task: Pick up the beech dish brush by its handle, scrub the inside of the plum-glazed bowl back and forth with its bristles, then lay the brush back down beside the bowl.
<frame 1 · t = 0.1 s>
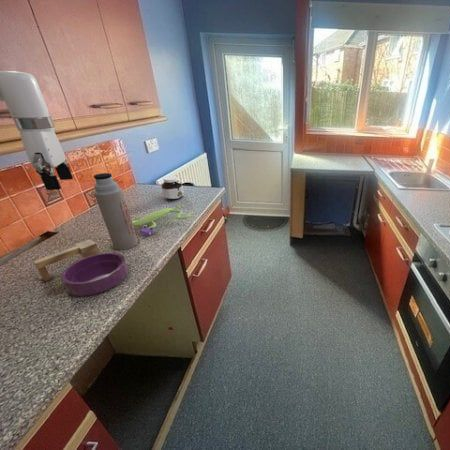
hand: (60, 184, 76), 28 cm above the countertop, tool pointing down, fingers open, 9 cm apart
thermos bottle: (126, 244, 98), on the countertop
spread jar: (174, 197, 142), on the countertop
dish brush: (92, 260, 88), on the countertop
bowl: (100, 279, 79), on the countertop
figurine: (163, 223, 114), on the countertop
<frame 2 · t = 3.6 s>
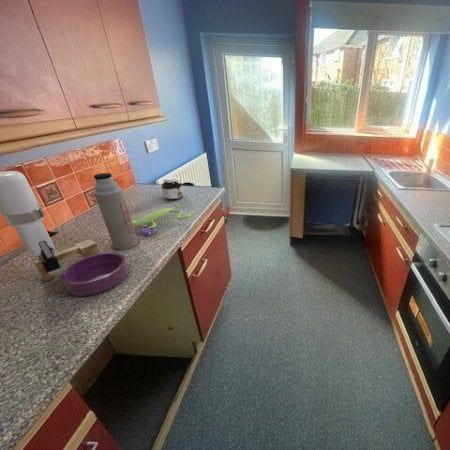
hand: (52, 267, 79), 3 cm above the countertop, tool pointing down, fingers closed on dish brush
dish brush: (92, 260, 88), on the countertop, touching gripper
everything else where it was.
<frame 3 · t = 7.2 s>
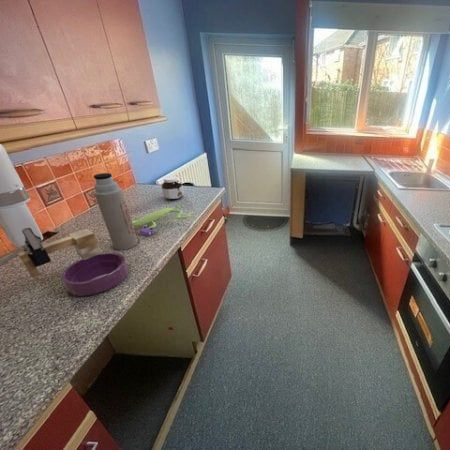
hand: (41, 261, 66), 13 cm above the countertop, tool pointing down, fingers closed on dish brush
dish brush: (89, 253, 75), point 10 cm above the countertop, touching gripper
everything else where it was.
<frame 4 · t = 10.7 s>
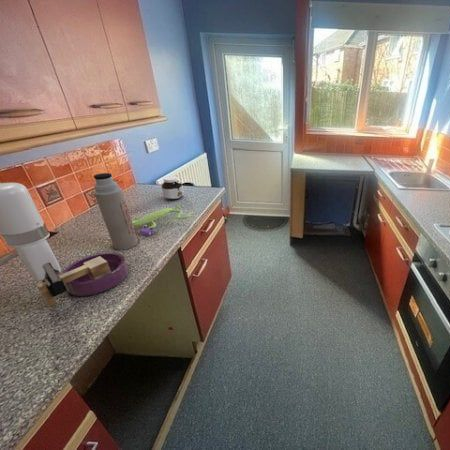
hand: (57, 291, 69), 4 cm above the countertop, tool pointing down, fingers closed on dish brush
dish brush: (102, 280, 78), point 1 cm above the countertop, touching gripper
everything else where it was.
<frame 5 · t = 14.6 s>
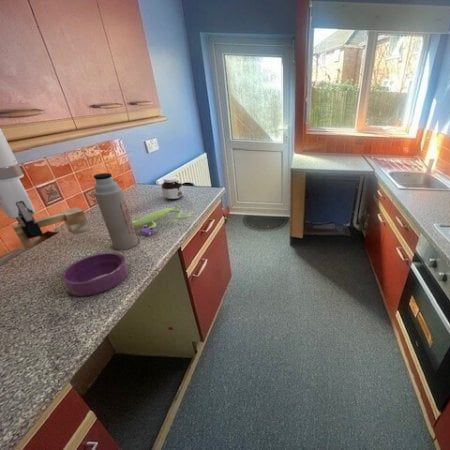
hand: (33, 234, 72), 16 cm above the countertop, tool pointing down, fingers closed on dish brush
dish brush: (80, 230, 81), point 13 cm above the countertop, touching gripper
everything else where it was.
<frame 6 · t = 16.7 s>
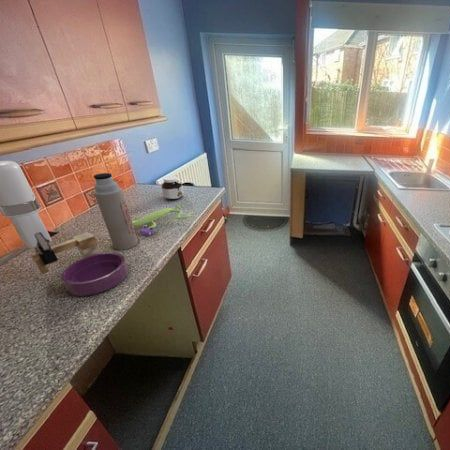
hand: (49, 260, 77), 6 cm above the countertop, tool pointing down, fingers closed on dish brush
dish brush: (91, 253, 86), point 3 cm above the countertop, touching gripper
everything else where it was.
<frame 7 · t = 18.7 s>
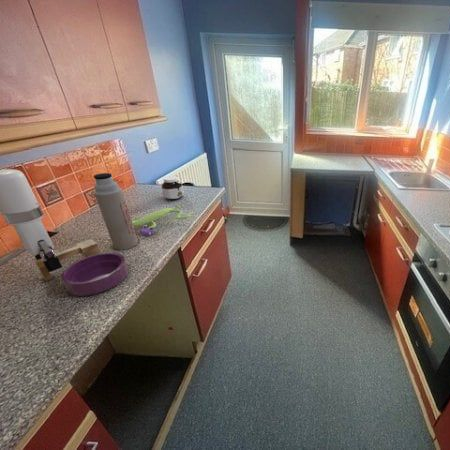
hand: (49, 263, 78), 5 cm above the countertop, tool pointing down, fingers open, 9 cm apart
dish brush: (93, 260, 88), on the countertop
everything else where it was.
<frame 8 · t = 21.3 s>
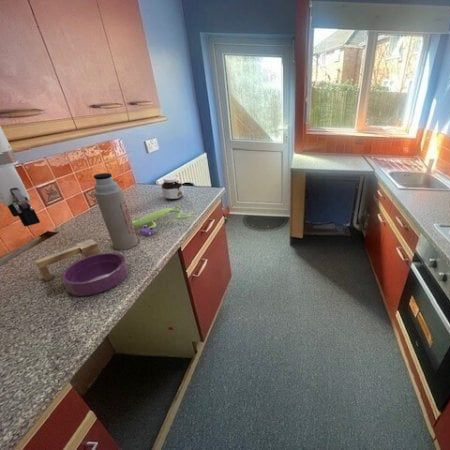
hand: (26, 219, 71), 20 cm above the countertop, tool pointing down, fingers open, 9 cm apart
nothing on the countertop moved.
at the end: bowl moved 0.0 cm from its start; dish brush inside the target area (0.2 cm from its centre), on the countertop; the gripper is holding nothing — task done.
